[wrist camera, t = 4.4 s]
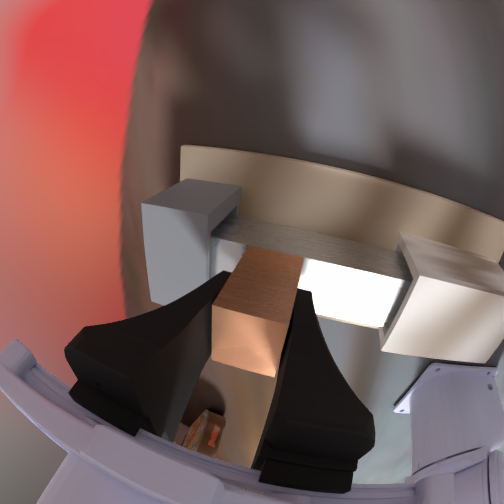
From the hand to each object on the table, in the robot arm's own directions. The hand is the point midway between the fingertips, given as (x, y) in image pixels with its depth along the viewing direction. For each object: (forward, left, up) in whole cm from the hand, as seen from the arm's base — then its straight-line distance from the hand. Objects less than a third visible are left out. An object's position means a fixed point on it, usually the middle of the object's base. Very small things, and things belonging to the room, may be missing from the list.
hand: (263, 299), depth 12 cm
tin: (+5, +30, -6) cm, 31 cm away
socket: (+5, 0, -6) cm, 8 cm away
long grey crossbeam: (-3, 0, -5) cm, 6 cm away
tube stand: (-4, 0, -6) cm, 7 cm away
